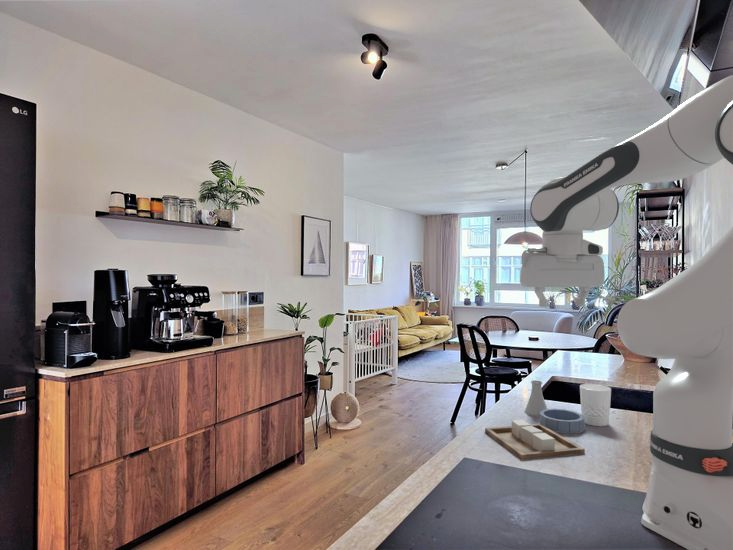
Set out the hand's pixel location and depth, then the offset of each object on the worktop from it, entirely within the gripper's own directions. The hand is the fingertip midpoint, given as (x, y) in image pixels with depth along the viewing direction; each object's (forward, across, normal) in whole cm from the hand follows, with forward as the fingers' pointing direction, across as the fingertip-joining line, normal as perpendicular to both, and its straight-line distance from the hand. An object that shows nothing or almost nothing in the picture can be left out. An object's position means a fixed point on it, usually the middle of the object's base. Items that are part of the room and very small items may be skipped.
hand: (562, 306), depth 109 cm
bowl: (+34, +10, +14) cm, 39 cm away
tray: (+34, -4, +5) cm, 35 cm away
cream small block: (+34, -5, +10) cm, 36 cm away
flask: (+35, +10, +26) cm, 45 cm away
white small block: (+34, -4, 0) cm, 34 cm away
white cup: (+35, +22, +16) cm, 44 cm away
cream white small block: (+34, -4, +5) cm, 35 cm away
